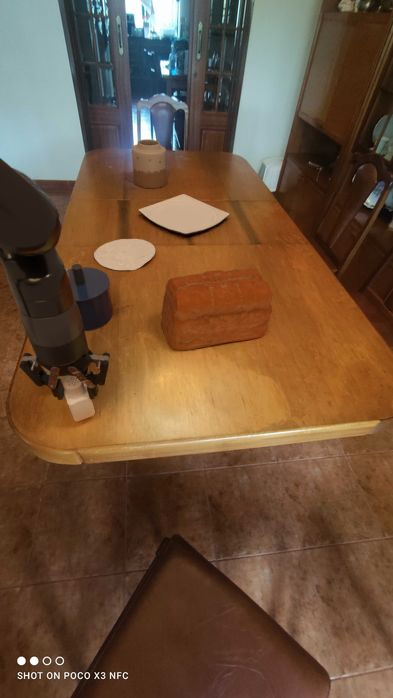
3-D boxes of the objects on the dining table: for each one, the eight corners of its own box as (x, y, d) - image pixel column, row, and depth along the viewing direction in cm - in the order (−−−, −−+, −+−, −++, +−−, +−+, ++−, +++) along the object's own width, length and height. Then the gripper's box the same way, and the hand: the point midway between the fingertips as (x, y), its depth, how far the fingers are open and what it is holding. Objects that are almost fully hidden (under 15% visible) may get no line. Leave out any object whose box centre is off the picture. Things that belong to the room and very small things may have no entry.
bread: (270, 338, 82) (286, 290, 71) (170, 355, 76) (171, 305, 65) (249, 304, 91) (260, 258, 81) (158, 317, 85) (157, 268, 74)
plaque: (167, 251, 108) (167, 247, 107) (127, 278, 96) (127, 274, 95) (123, 235, 116) (123, 231, 115) (81, 259, 104) (80, 255, 103)
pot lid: (56, 309, 71) (49, 289, 67) (47, 276, 79) (40, 256, 75) (116, 296, 76) (114, 276, 72) (102, 266, 84) (99, 247, 80)
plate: (133, 216, 126) (132, 209, 124) (183, 198, 141) (183, 192, 139) (185, 243, 114) (185, 236, 112) (233, 220, 129) (234, 214, 127)
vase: (170, 180, 155) (170, 140, 143) (159, 191, 145) (159, 149, 133) (141, 175, 158) (139, 135, 146) (128, 185, 147) (125, 144, 135)
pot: (67, 336, 78) (57, 305, 71) (58, 305, 86) (49, 275, 79) (118, 323, 82) (113, 293, 75) (105, 295, 90) (100, 266, 83)
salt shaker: (96, 415, 61) (88, 385, 54) (75, 424, 60) (64, 394, 53) (89, 400, 63) (81, 369, 57) (69, 408, 62) (58, 377, 55)
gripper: (-8, 345, 42) (30, 414, 54) (103, 345, 44) (115, 412, 56) (10, 309, 47) (41, 380, 59) (108, 310, 49) (119, 378, 61)
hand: (77, 395), depth 58 cm, fingers closed on salt shaker, 5 cm apart
